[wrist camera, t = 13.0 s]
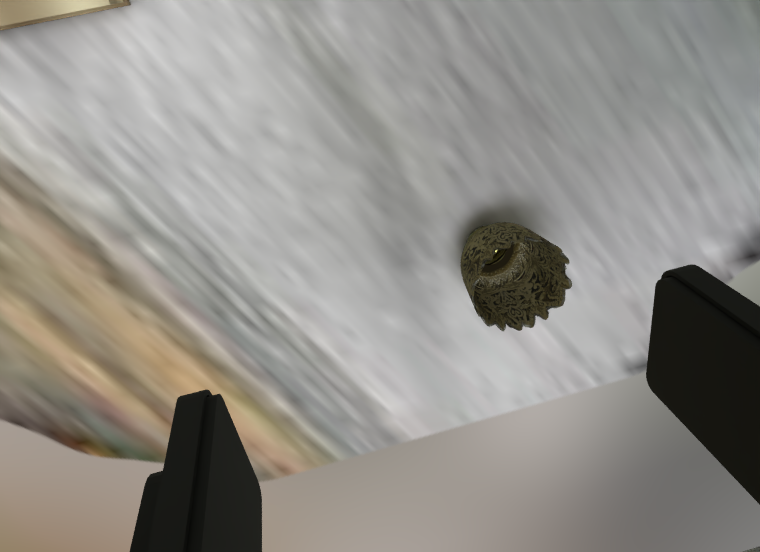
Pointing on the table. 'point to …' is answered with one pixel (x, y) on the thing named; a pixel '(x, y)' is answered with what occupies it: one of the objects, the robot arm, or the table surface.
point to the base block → (49, 10)
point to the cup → (513, 275)
